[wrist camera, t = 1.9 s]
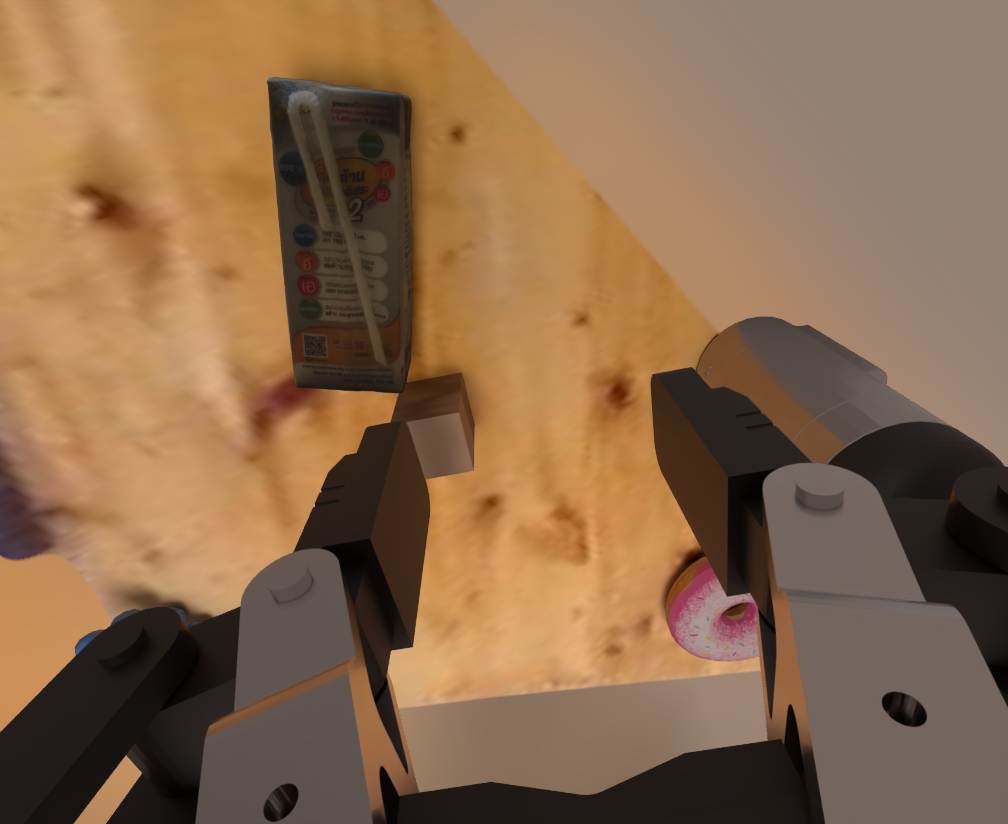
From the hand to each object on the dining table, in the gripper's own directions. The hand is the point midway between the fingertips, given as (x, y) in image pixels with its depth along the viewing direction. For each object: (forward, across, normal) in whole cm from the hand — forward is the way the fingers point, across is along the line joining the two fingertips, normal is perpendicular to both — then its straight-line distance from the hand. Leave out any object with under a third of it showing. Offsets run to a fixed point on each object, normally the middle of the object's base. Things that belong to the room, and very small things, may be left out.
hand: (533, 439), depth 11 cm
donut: (+32, -17, +41) cm, 55 cm away
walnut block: (+31, +8, +14) cm, 35 cm away
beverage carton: (+32, +10, 0) cm, 33 cm away
